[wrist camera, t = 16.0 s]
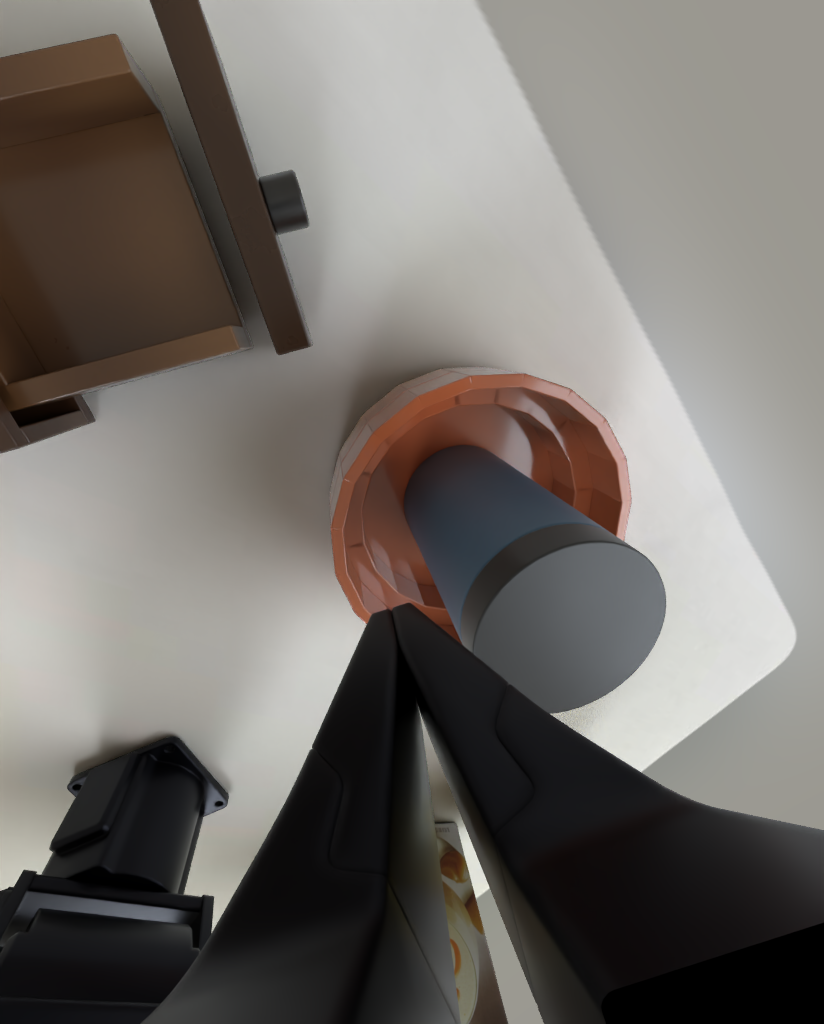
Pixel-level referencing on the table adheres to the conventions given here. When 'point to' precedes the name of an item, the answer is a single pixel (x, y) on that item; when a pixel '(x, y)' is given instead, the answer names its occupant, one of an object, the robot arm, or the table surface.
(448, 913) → the coffee box
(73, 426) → the cabinet
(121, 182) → the drawer
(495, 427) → the bowl
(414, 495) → the lidded jar
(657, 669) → the table surface
